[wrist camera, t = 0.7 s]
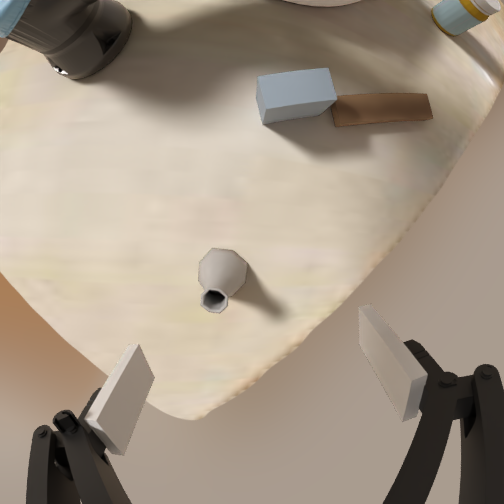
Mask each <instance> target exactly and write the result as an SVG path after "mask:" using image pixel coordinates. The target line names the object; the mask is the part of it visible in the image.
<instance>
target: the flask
mask: <svg viewBox="0 0 504 504" xmlns="http://www.w3.org/2000/svg"><path fill="white" fill-rule="evenodd" d="M246 273H247V263H246V262H245V261H244V260H243V259H242V258H241V257H240V256H238V255H237V254H236V253H235V252H234V251H233V250H226V249H217V248H212V249H211V250H210V251H209V252H208V253H207V254H206V255H205V257H204V258H203V259H202V260H201V261H200V262H199V277H198V281H199V283H200V284H201V286H202V287H203V289H204V292H203V293H202V294H201V306H202V307H204V308H205V309H206V310H207V311H208V312H212V313H221V312H222V311H223V310H224V309H225V308H226V307H227V306H228V297H230V296H232V295H233V294H234V293H235V292H236V291H237V290H238V289H239V288H240V287H241V286H242V285H243V284H244V283H245V282H246Z"/></svg>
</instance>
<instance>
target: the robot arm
mask: <svg viewBox="0 0 504 504" xmlns="http://www.w3.org/2000/svg"><path fill="white" fill-rule="evenodd" d="M131 27H132V19H131V15H130V13H129V12H128V11H127V9H126V8H125V7H124V6H123V5H122V4H121V3H119V2H117V1H114V0H0V37H2V38H8V39H10V40H12V41H15V42H17V43H20V44H22V45H24V46H27V47H29V48H31V49H33V50H36V51H38V52H40V53H42V54H44V56H45V57H46V59H47V60H48V62H49V63H50V64H51V66H52V67H53V69H54V70H55V71H56V72H57V73H59V74H61V75H63V76H65V77H67V78H71V79H79V78H84V77H87V76H90V75H92V74H94V73H96V72H97V71H99V70H101V69H102V68H103V67H105V66H106V65H107V64H108V63H110V62H111V61H112V60H113V59H114V58H115V57H116V55H117V54H118V53H119V52H120V51H121V49H122V48H123V46H124V45H125V43H126V41H127V39H128V37H129V35H130V32H131ZM359 343H360V344H359V345H360V347H361V349H362V351H363V352H364V354H365V356H366V358H367V359H368V361H369V363H370V364H371V366H372V368H373V370H374V372H375V373H376V375H377V377H378V379H379V381H380V382H381V384H382V386H383V388H384V389H385V391H386V393H387V395H388V397H389V399H390V400H391V402H392V404H393V406H394V408H395V410H396V412H397V413H398V415H399V417H400V419H401V421H402V422H404V421H407V420H409V419H412V418H414V417H416V416H417V414H418V410H419V409H420V411H421V412H422V416H421V419H420V422H419V425H418V428H417V431H416V433H415V436H414V438H413V441H412V444H411V446H410V449H409V451H408V453H407V456H406V458H405V460H404V462H403V465H402V467H401V469H400V471H399V473H398V475H397V477H396V479H395V482H394V484H393V485H392V487H391V489H390V491H389V493H388V495H387V497H386V498H385V500H384V502H383V504H425V502H426V499H427V497H428V495H429V492H430V490H431V487H432V485H433V482H434V480H435V477H436V474H437V472H438V469H439V466H440V463H441V460H442V457H443V454H444V450H445V447H446V444H447V440H448V437H449V433H450V429H451V425H452V421H453V420H456V419H460V428H461V481H460V495H459V504H504V389H503V386H502V382H501V378H500V375H499V372H498V370H497V369H496V368H495V367H494V366H492V365H489V364H483V365H480V366H478V367H477V368H476V370H475V371H474V374H473V375H470V376H464V377H458V376H457V375H455V374H454V373H451V372H444V371H443V370H442V368H441V367H440V366H439V365H438V364H437V363H436V361H435V360H434V359H433V358H432V357H431V356H430V355H429V353H428V352H427V351H425V349H424V347H423V346H422V345H421V344H420V343H418V342H416V341H414V340H409V341H406V342H402V341H401V340H400V338H399V337H398V336H397V335H396V333H395V332H394V331H393V330H392V328H391V327H390V326H389V325H388V324H387V323H386V321H385V320H384V319H383V318H382V316H381V315H380V314H379V313H378V312H377V310H376V309H375V308H374V307H373V306H372V305H371V304H368V305H364V306H360V307H359ZM154 378H155V377H154V375H153V373H152V371H151V369H150V367H149V365H148V363H147V360H146V358H145V356H144V354H143V352H142V349H141V347H140V345H139V344H131V345H128V347H127V348H126V350H125V351H124V353H123V355H122V356H121V358H120V359H119V361H118V363H117V364H116V366H115V367H114V369H113V371H112V372H111V374H110V376H109V377H108V379H107V380H106V382H105V384H104V386H103V387H102V388H99V389H98V390H96V391H95V392H94V393H93V395H92V396H91V398H90V401H88V403H87V406H85V408H84V410H83V411H82V413H81V415H80V416H79V418H78V419H77V418H76V417H75V415H74V414H73V412H72V411H70V410H63V411H60V412H59V413H57V414H56V415H55V416H54V418H53V424H54V425H55V426H56V427H57V429H58V430H59V431H53V430H52V429H51V428H50V427H49V426H47V425H42V426H40V427H38V428H37V429H36V430H35V431H34V434H33V439H32V445H31V452H30V459H29V467H28V478H27V493H26V504H81V503H80V499H81V502H82V504H132V503H131V502H130V500H129V498H128V496H127V494H126V493H125V491H124V489H123V487H122V485H121V483H120V481H119V479H118V477H117V476H116V473H115V472H114V469H113V467H112V465H111V463H110V461H109V459H108V457H107V455H106V454H105V453H104V451H105V449H106V448H107V449H108V450H109V451H110V452H111V453H112V454H116V455H124V454H125V451H126V449H127V446H128V444H129V441H130V438H131V436H132V433H133V430H134V428H135V425H136V423H137V420H138V417H139V415H140V413H141V410H142V408H143V405H144V403H145V400H146V398H147V395H148V393H149V390H150V388H151V386H152V383H153V381H154Z"/></svg>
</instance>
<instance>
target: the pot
mask: <svg viewBox="0 0 504 504" xmlns="http://www.w3.org/2000/svg"><path fill="white" fill-rule="evenodd" d="M284 1H288V2H293V3H297V4H303V5H310V6H325V7H331V6H342V5H346V4H351V3H355V2H358V1H361V0H284Z"/></svg>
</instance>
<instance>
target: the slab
mask: <svg viewBox="0 0 504 504" xmlns="http://www.w3.org/2000/svg"><path fill="white" fill-rule="evenodd" d="M256 100H257V104H258V108H259V112H260V116H261V120H262V124H268V123H274V122H279V121H285V120H291V119H297V118H304V117H311V116H318V115H320V114H321V113H322V112H323V111H325V110H326V109H327V108H328V107H329V106H330V105H332V104H333V103H334V102H335V101H336V100H337V96H336V92H335V89H334V85H333V82H332V78H331V75H330V72H329V69H328V68H318V69H308V70H298V71H290V72H282V73H276V74H269V75H263V76H258V77H257V92H256Z"/></svg>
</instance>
